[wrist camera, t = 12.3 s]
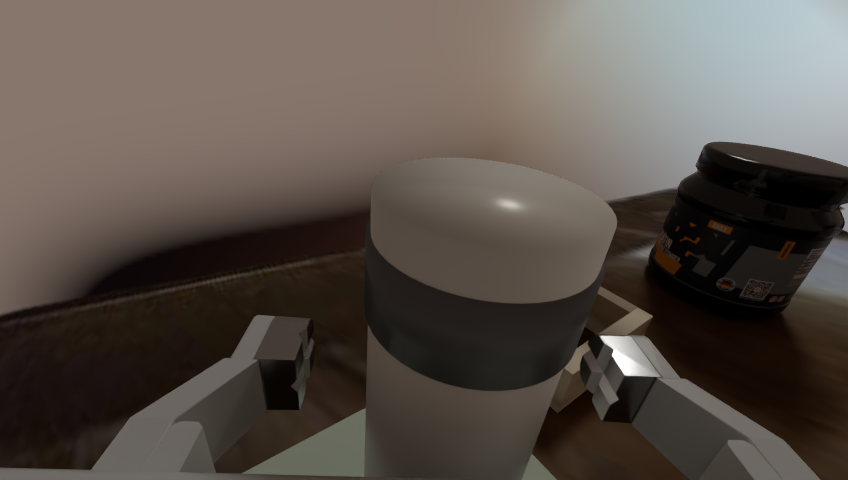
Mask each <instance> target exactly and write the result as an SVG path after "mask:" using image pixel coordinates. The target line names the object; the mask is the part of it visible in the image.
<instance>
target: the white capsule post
mask: <svg viewBox="0 0 848 480" xmlns="http://www.w3.org/2000/svg"><path fill="white" fill-rule="evenodd" d="M616 227H617V219H616V215H615V213H614V212H613V210H612V209H611V208H610V206H609V205H608V204H607V203H606V202H605V201H603V200H602V199H601V198H600V197H598V196H597V195H595V194H594V193H592V192H590V191H588V190H587V189H585V188H583V187H581V186H579V185H577V184H575V183H573V182H571V181H568V180H566V179H563V178H561V177H558V176H555V175H552V174H549V173H546V172H542V171H539V170H535V169H531V168H527V167H523V166H519V165H514V164H509V163H503V162H497V161H490V160H482V159H471V158H428V159H419V160H412V161H407V162H403V163H399V164H396V165H393V166H391V167H388V168H386V169H385V170H383V171H381V172H380V173H379V174H378V175H377V176H376V177H375V178H374V180H373V182H372V191H371V217H370V219H369V221H368V223H367V227H366V244H365V295H364V307H365V316H366V319H367V323H368V344H367V383H366V421H365V460H364V477H391V478H431V479H469V480H522V478H523V475H524V472H525V470H526V467H527V464H528V462H529V459H530V456H531V454H532V451H533V448H534V446H535V443H536V440H537V438H538V435H539V432H540V430H541V427H542V424H543V422H544V419H545V416H546V414H547V411H548V408H549V406H550V403H551V400H552V398H553V395H554V392H555V390H556V387H557V384H558V382H559V379H560V376H561V374H562V371H563V368H565V367H566V365H567V364H568V363H569V361H570V360H571V359H572V357H573V355H574V353H575V350H576V348H577V345H578V343H579V340H580V338H581V335H582V332H583V330H584V327H585V325H586V322H587V319H588V317H589V314H590V312H591V309H592V306H593V304H594V301H595V299H596V296H597V293H598V291H599V288H600V286H601V283H602V280H603V278H604V275H605V269H606V264H605V256H606V254H607V251H608V248H609V246H610V243H611V240H612V238H613V235H614V232H615V230H616Z"/></svg>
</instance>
